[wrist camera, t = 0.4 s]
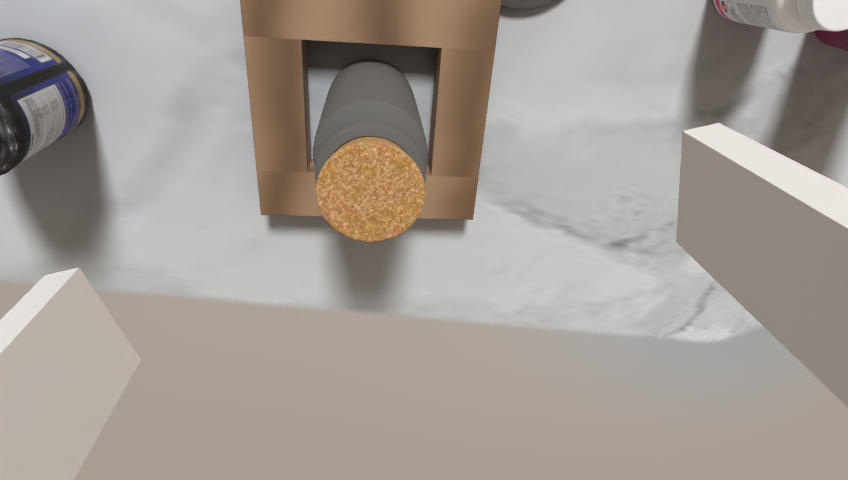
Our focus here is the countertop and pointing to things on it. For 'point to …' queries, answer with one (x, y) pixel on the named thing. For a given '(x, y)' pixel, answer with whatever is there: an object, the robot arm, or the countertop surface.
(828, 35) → the cup
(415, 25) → the brown wooden square frame
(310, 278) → the countertop surface
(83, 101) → the pill bottle
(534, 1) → the coaster
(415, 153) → the bottle
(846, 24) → the pill bottle
